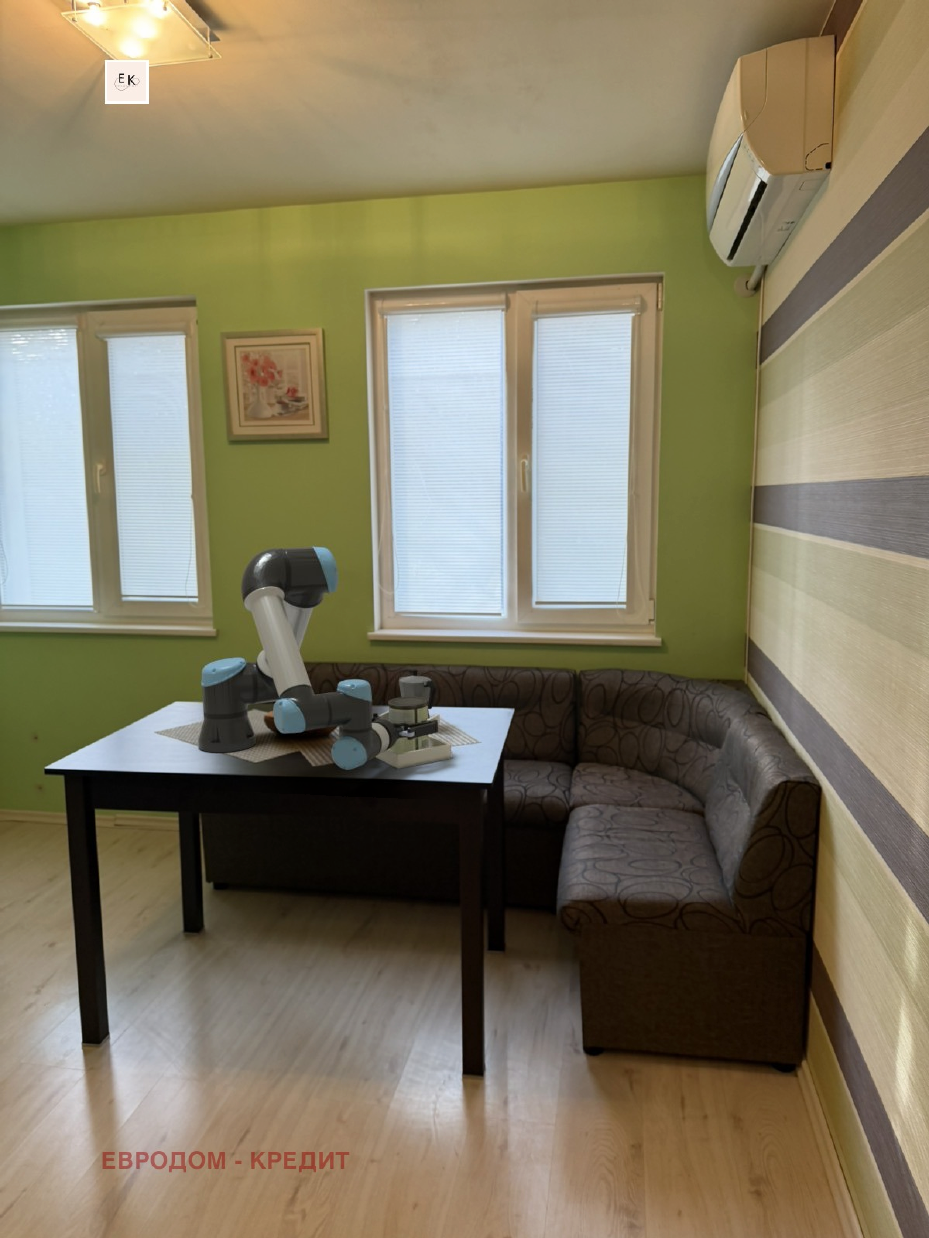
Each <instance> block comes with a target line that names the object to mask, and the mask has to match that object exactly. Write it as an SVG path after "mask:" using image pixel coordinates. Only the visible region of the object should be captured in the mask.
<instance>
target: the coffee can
mask: <svg viewBox="0 0 929 1238" xmlns="http://www.w3.org/2000/svg"><path fill="white" fill-rule="evenodd" d="M387 705H388V711H389V722H391V723H397V724H398V723H407V724H412V723H419V722H426V721H427V719H428V711H429V709H428V705H429V702H428V699H425V698H422V697H401V696H400V697H394V698H391V699H389V700H388V703H387ZM401 727H402V728H403V730H404V726H401ZM425 748H429V736H428V735H425V736H421V737H417V738H414V739H412V740H408V739H407V737H404V738H399V739H397V741H396V742H395V744H394V745H393V746H392V747H391V748H390V749H391V750H393V751H395V752H397V753H404V752H409V751H415V750H420V749H425Z"/></svg>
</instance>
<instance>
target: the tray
mask: <svg viewBox="0 0 929 1238" xmlns="http://www.w3.org/2000/svg"><path fill="white" fill-rule="evenodd" d="M428 736H429V748H425V749H420V750H415V751H409V752H404V753H397V752H395V751H393V750H391V749H390V748H389V749H388V750H386V751H384V752H382V753H380V754H378V755H377V756H375V757H374V758H375V759H378V760H380V761H381V762H382V761H383V762H384V763H386V764H388V765H390V766H391V767H393V768H395V769H397V770H399V769H403V768H410V767H414V766H420V765H423V764H424V765H426V764H428V763H429V764H430V763H433V762H438V761H444V760H449V759H452V744H451V743H450V742H449V743H448V742H446V741H444V740H441V739H439V738H437V737H435V736H433V735H431V734H429V735H428Z"/></svg>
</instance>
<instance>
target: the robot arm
mask: <svg viewBox="0 0 929 1238" xmlns="http://www.w3.org/2000/svg"><path fill="white" fill-rule="evenodd" d="M338 585H339V572H338V567H337V563H336V560H335V557H334V555H333V553H332V552H331V550H330V549H328V548H327V547H323V546H322V547H319V546H318V547H317V546H309V547H288V548H268V549H265V550H263V551H260V552H258V553H257V554H256V555H254V556H253V557H252V558H251V559H250V561H249V562H248V563H247V565H246V567H245V569H244V570H243V573H242V576H241V582H240V594H241V595H240V596H241V599H242V601H243V602H242V603H243V604H244V607H245V609H246V610H247V611H249V612H251V615H252V618H253V622H254V625H255V627H256V630H257V634H258V637H259V640H260V643H261V646H262V650H261V651H260V652H259V654H258V656H257V658H256V661H248V662H247V661H246V660H245V658H242V657H232V658H230V657H229V658H223V659H219V660H215V661H212V662H210V663H208V664H206V665H204V667H203V668H202V669H201V670H202V671H201V682H200V686H201V693H202V707H203V708H202V710H203V721H202V724H201V727H200V732H199V735H198V738H197V743H198V749H199V750H201V751H203V752H209V753H230V752H232V753H233V752H238V751H242V750H246V749H249V748H251V747H254V745H256V741H257V739H256V733H255V731H254V728H253V725H252V723H251V721H250V718H249V714H248V713H249V711H248V706H250V705H257V704H263V703H273V702H275V703H274V704H273V710H272V713H273V714H272V715H273V722H274V726H275V727H276V729H277V730H278V731H279V732H280V733H281V734H296V733H302V732H305V731H312V730H318V729H323V728H329V727H330V728H331V727H336V726H338V735H339V737H338V739H337V740H336V741H335V742H334V743H333V744H332V748H331V750H330V751H331V757H332V760H333V762H334V763H335V764H336V765H337V766H338V767H339V768H340V769H343V770H346V771H348V770H354V769H355V768H359V767H362V766H363V765H365V763H367V762H368V761H370V760H372V759H374V758H376V757H375V756H377V755H378V754H380V753H382V752H384V751H386V750H388V749H389V748H391V747H392V746H393V745H394V744H395V742H396V741H397V739H399V738H404V737H407V739H408V740H412V739H414V738H417V737H421V736H425V735H433V734H437V733H439V725H440V724H441V722H440V721H441V720H440V719H441V717H440V715H441V714H440V713H437V714H435V715H433V716H431V717H430V718H429V719H427V721H426V722H419V723H412V724H407V723H398V724H397V723H391V722H389V710H386V711H385V712H383V713H381V714H379V715H378V713H377V712H376V713H375V712H374V713H372V712H373V699H372V698H373V696H372V689H371V687H372V686H371V684H370V683H369V681H367V680H365V679H344V680H342V681H339V683H337V688H336V691H333V692H326V693H318V694H315V692H314V690H313V687H312V684H311V680H310V678H309V675H308V673H307V670H306V669H307V668H306V667H305V663H304V661H303V658H302V657H303V656H302V655H301V652H300V650H301V647H302V643H303V641H304V637H305V634H306V632H307V628H308V625H309V624H310V623H309V622H310V619H311V616H312V613H313V611H314V609H315V608H316V607H318V606H319V605H321V603H322V601H323V599H324V596H325V594H331V593H335V592H336V591H337V589H338ZM401 726H404V730H403V728H402V727H401Z"/></svg>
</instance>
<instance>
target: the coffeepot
mask: <svg viewBox="0 0 929 1238" xmlns="http://www.w3.org/2000/svg"><path fill="white" fill-rule="evenodd" d="M418 671H419V670H418V669H415V668H414V669H412V670H411V672H412V675H410V676H409V675H408V676H402V677H399V679H398V685H399V689H400V697H422V698H425V699H428V719H429V718H431V717H430V711H429V710H431V709H433V705H434V701H435V698H436V693H437V686H436V685H435V683H434V682H433V680H432V679H431V678H429V677H427V676H422V675H418Z"/></svg>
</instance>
